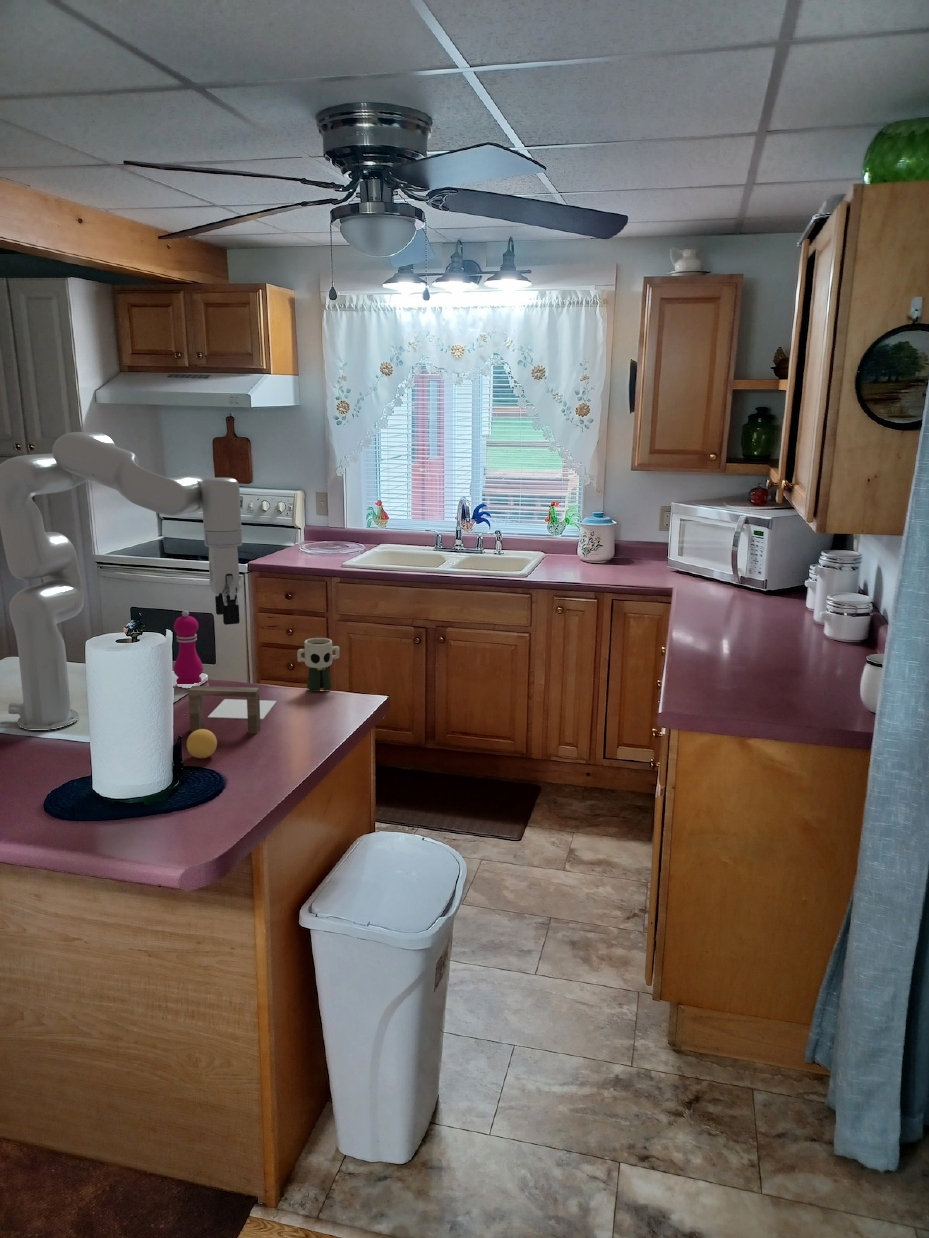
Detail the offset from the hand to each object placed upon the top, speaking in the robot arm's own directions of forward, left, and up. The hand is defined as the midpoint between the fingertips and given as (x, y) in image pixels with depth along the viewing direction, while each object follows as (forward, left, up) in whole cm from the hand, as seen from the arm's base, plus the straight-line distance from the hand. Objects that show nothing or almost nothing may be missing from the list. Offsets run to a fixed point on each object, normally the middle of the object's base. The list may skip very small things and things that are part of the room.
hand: (227, 618), depth 186 cm
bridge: (-3, +6, -27) cm, 28 cm away
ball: (-3, -10, -24) cm, 27 cm away
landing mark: (-3, +20, -27) cm, 34 cm away
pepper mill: (-22, +37, -28) cm, 51 cm away
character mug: (+12, +37, -28) cm, 48 cm away
